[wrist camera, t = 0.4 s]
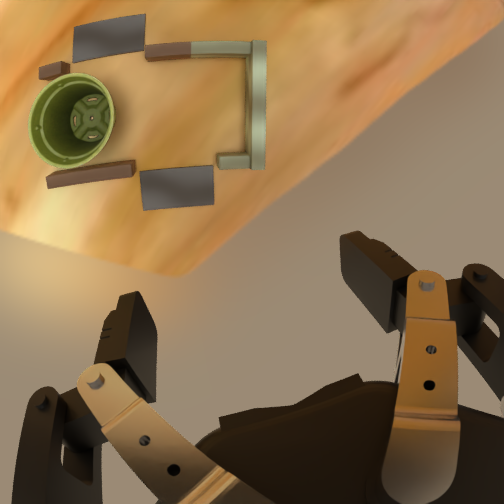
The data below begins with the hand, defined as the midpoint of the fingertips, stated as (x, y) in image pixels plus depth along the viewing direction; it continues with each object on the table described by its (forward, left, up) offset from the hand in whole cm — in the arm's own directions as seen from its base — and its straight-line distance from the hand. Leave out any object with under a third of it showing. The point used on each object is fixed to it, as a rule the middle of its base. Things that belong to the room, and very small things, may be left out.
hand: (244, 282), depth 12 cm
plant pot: (-7, -13, -28) cm, 32 cm away
